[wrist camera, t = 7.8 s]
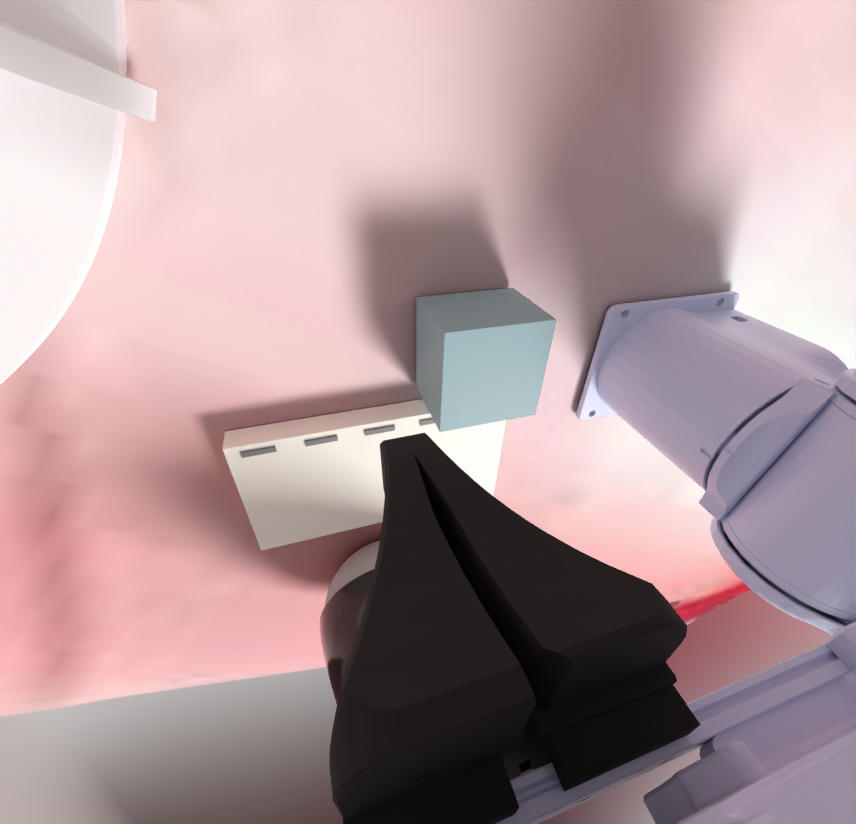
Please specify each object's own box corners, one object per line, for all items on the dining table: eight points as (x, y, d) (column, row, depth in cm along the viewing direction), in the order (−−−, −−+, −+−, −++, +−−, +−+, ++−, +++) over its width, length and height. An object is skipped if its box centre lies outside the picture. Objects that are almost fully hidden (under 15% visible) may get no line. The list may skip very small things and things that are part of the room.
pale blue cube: (512, 287, 20) (556, 319, 17) (499, 374, 23) (535, 414, 20) (416, 297, 19) (444, 333, 16) (416, 387, 22) (440, 432, 19)
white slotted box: (498, 386, 24) (510, 400, 23) (484, 481, 28) (493, 496, 27) (224, 431, 20) (222, 450, 19) (261, 531, 25) (261, 552, 24)
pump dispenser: (290, 548, 26) (306, 891, 15) (438, 496, 28) (558, 770, 16) (335, 616, 33) (370, 893, 21) (453, 571, 34) (547, 806, 23)
